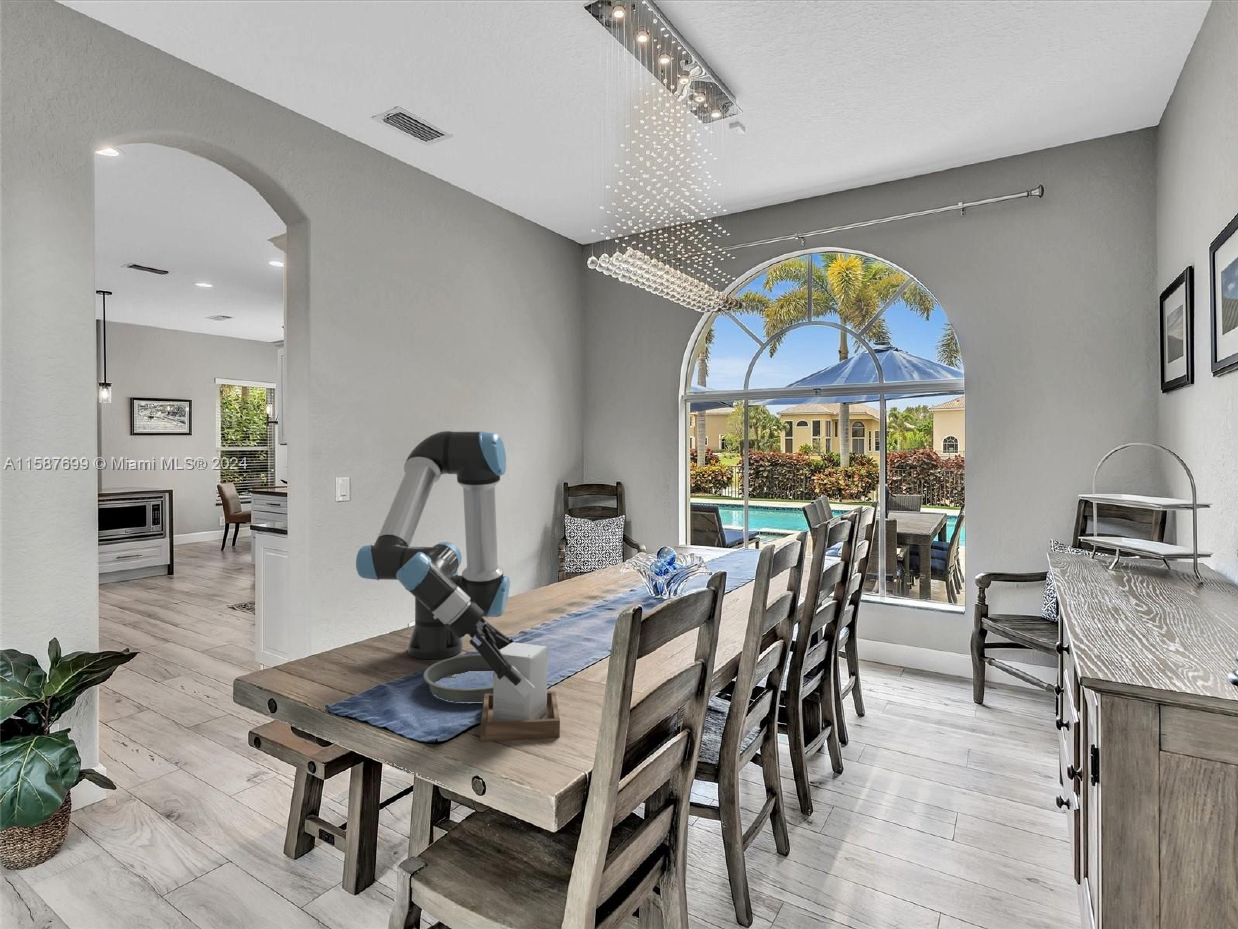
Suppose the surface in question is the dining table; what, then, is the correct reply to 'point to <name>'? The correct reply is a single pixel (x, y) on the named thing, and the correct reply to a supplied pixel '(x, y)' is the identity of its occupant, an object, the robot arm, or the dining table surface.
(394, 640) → the dining table surface
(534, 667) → the supplement box
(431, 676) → the cake pan
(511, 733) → the walnut tray
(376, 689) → the dining table surface
